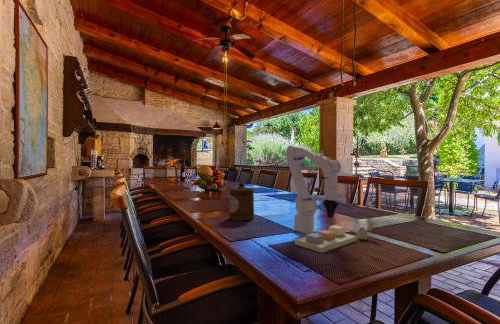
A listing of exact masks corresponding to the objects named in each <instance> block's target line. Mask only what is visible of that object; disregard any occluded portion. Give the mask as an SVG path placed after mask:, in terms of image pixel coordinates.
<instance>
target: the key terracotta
mask: <svg viewBox="0 0 500 324" xmlns="http://www.w3.org/2000/svg"><path fill="white" fill-rule="evenodd" d="M328 230H329V229H328ZM328 230H327V229H323V230H319V231H317V233H318V234H320V235H323V240H327V241H329V240H332V239H335V232H332V231H328Z"/></svg>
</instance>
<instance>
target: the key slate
mask: <svg viewBox="0 0 500 324" xmlns="http://www.w3.org/2000/svg"><path fill="white" fill-rule="evenodd" d="M316 233H317V232H314V233H310V234H306V235H305V236H306V242H309V243H313V244H319V243H322V242H323V235H320V234H316Z"/></svg>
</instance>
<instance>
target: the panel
mask: <svg viewBox="0 0 500 324" xmlns="http://www.w3.org/2000/svg"><path fill="white" fill-rule="evenodd" d="M328 231H329V229H328ZM315 233H316V234H318V232H315ZM357 240H358V239H357V235H352V234H348V233H345V234H343V235H339V236H338V235H335V239H332V240H329V241H327V240H323V242H322V243H319V244H313V243H309V242H306V235H305V236H302V237H299V238H295V239H294V245H296V246H300V247H303V248H306V249H308V248H309V250H311V249H312V250H311V251H315V252H318V253H321V252H322V253H321V254H323V253H326V252H329V251H331V249H332V250H334V249H337V248H339V247H343V246H345V245H347V244H351V243H355V242H356V241H357ZM328 250H329V251H328Z"/></svg>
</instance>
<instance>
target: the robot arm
mask: <svg viewBox="0 0 500 324" xmlns="http://www.w3.org/2000/svg"><path fill="white" fill-rule="evenodd" d="M285 156H286V160H287V163H288V167H289V169H290V173H291V176H292V180H293V183H294V187H295V190H296V193H297V197H296V198H295V200H294V201H295V202H294V203H295V210H296V213H295V215H294V217H293V218H294V221H293V223H294V224H293V225H294V226H293V229H292V230H293V231H295V232H298V233H302V234H306V235H307V234H311V233H318V230H317V229H315V214H316V212H317V211H318V207H319V205H318V202H317V201H318V200H321V201H323V202H322V204H323V206H324V209H325V211H326V214H327V218H329V219H333V218H334V215H335V212H336V209H337V207H338V206H339V204H345V205H346V204H347V198H343V197H339V196H338V186H339V184H338V183H339V182H338V178H339V177H338V176H339V172H340V171H341V168H342V167H341V166H342V165H341V163H340V161H338V159H334V160H332V159H331V157H327V156H325V153H323V152H320V153H315V152H314V151H312V150H310V149H309V148H308V146H305V145H288V146H287V147H286V150H285ZM305 158H307V159H310V160H311V161H312V163H313V165H315V166H317V167H319V168H320V169H321V171H322V173H323V177H324V179H323V181H324V183H323V186H324V188H323V191H324V192H323V195H321V194H317V195H316V199H315V197H314V196H313V195H312V194H310V193H309V190H308V187H307V184H306V180H305V178H304V175H303V171H302V168H301V164H302V163H303V162H304V160H305ZM316 200H317V201H316Z"/></svg>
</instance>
